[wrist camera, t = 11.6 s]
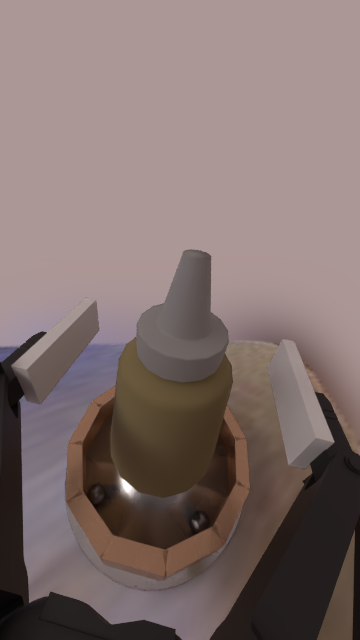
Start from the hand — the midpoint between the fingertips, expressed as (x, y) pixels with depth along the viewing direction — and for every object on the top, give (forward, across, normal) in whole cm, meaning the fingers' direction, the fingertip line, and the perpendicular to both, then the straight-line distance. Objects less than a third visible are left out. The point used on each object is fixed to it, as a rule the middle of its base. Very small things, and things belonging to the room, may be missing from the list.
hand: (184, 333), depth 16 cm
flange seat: (-3, 0, -12) cm, 13 cm away
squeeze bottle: (-3, 0, -11) cm, 12 cm away
